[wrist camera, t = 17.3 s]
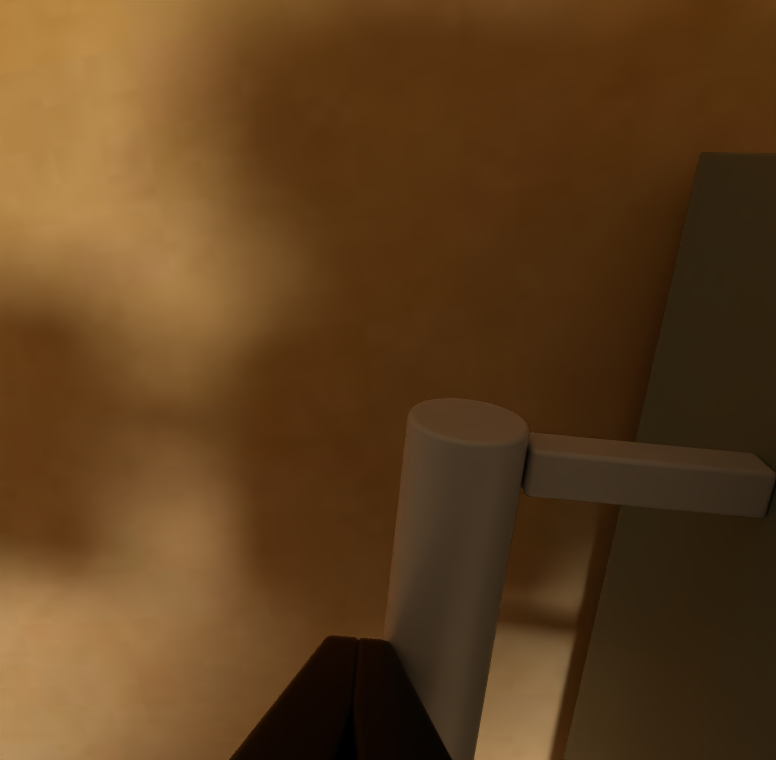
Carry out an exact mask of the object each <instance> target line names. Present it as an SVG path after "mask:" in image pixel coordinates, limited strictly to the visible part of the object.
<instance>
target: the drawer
mask: <svg viewBox="0 0 776 760" xmlns="http://www.w3.org/2000/svg"><path fill="white" fill-rule="evenodd" d="M521 486H522V488H523V491H524V494H525V495H527V496H531V497H542V498H552V499H563V500H573V501H584V502H595V503H605V504H616V505H621V506H620V511H619V515H618V520H617V524H616V528H615V533H614V537H613V542H612V546H611V551H610V555H609V560H608V564H607V568H606V573H605V577H604V582H603V586H602V591H601V595H600V599H599V604H598V608H597V613H596V617H595V622H594V626H593V630H592V635H591V639H590V644H589V648H588V653H587V657H586V661H585V666H584V670H583V675H582V679H581V684H580V688H579V692H578V697H577V701H576V706H575V710H574V715H573V719H572V723H571V728H570V732H569V737H568V741H567V746H566V750H565V754H564V759H563V760H776V153H730V152H702V153H701V154H700V156H699V161H698V165H697V170H696V174H695V178H694V183H693V187H692V192H691V196H690V201H689V205H688V209H687V214H686V218H685V223H684V227H683V232H682V236H681V240H680V245H679V249H678V254H677V258H676V263H675V267H674V271H673V276H672V280H671V285H670V289H669V294H668V298H667V303H666V307H665V311H664V316H663V320H662V325H661V329H660V334H659V338H658V342H657V347H656V351H655V356H654V360H653V365H652V369H651V373H650V378H649V382H648V387H647V391H646V396H645V400H644V404H643V409H642V413H641V418H640V422H639V427H638V431H637V435H636V440H635V442H627V441H617V440H606V439H596V438H585V437H575V436H564V435H554V434H543V433H532V432H530V430H529V427H528V424H527V422H526V421H525V420H524V419H523V418H522V417H521V416H519V415H518V414H516V413H514V412H512V411H510V410H508V409H506V408H503V407H500V406H498V405H495V404H491V403H487V402H483V401H478V400H472V399H464V398H439V399H431V400H426V401H423V402H420V403H418V404H416V405H414V406H413V407H412V408H411V410H410V411H409V413H408V417H407V426H406V435H405V444H404V454H403V463H402V472H401V481H400V490H399V499H398V508H397V517H396V526H395V536H394V545H393V554H392V563H391V572H390V581H389V590H388V599H387V608H386V618H385V627H384V636H383V640H386V641H388V642H390V644H391V645H392V647H393V649H394V651H395V652H396V654H397V656H398V658H399V660H400V662H401V664H402V666H403V668H404V669H405V671H406V673H407V675H408V677H409V679H410V681H411V683H412V685H413V686H414V688H415V690H416V692H417V694H418V696H419V698H420V700H421V701H422V703H423V705H424V707H425V709H426V711H427V713H428V715H429V717H430V718H431V720H432V722H433V724H434V726H435V728H436V730H437V732H438V734H439V735H440V737H441V739H442V741H443V743H444V745H445V747H446V749H447V751H448V752H449V754H450V756H451V758H452V760H474V755H475V750H476V744H477V738H478V732H479V726H480V720H481V715H482V709H483V703H484V697H485V691H486V686H487V680H488V674H489V668H490V662H491V656H492V651H493V645H494V639H495V633H496V627H497V622H498V616H499V610H500V604H501V598H502V593H503V587H504V581H505V575H506V569H507V563H508V558H509V552H510V546H511V540H512V534H513V529H514V523H515V517H516V511H517V505H518V499H519V494H520V488H521Z"/></svg>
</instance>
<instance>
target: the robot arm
mask: <svg viewBox="0 0 776 760" xmlns="http://www.w3.org/2000/svg"><path fill="white" fill-rule="evenodd" d="M229 760H452V758H451V756H450V754H449V752H448V751H447V749H446V747H445V745H444V743H443V741H442V739H441V737H440V735H439V734H438V732H437V730H436V728H435V726H434V724H433V722H432V720H431V718H430V717H429V715H428V713H427V711H426V709H425V707H424V705H423V703H422V701H421V700H420V698H419V696H418V694H417V692H416V690H415V688H414V686H413V685H412V683H411V681H410V679H409V677H408V675H407V673H406V671H405V669H404V668H403V666H402V664H401V662H400V660H399V658H398V656H397V654H396V652H395V651H394V649H393V647H392V645H391V644H390V642H388V641H386V640H379V639H368V638H361V639H359V640H358V639H357V638H355V637H345V636H333V635H331V636H328V637H326V638H325V639H324V640H323V642H322V643H321V644H320V645H319V647H318V648H317V649H316V651H315V652H314V653H313V654H312V656H311V657H310V658H309V659H308V661H307V662H306V663H305V664H304V666H303V667H302V668H301V669H300V671H299V672H298V673H297V674H296V676H295V677H294V678H293V680H292V681H291V682H290V683H289V685H288V686H287V687H286V688H285V690H284V691H283V692H282V693H281V695H280V696H279V697H278V698H277V700H276V701H275V702H274V704H273V705H272V706H271V707H270V709H269V710H268V711H267V712H266V714H265V715H264V716H263V717H262V719H261V720H260V721H259V722H258V724H257V725H256V726H255V727H254V729H253V730H252V731H251V733H250V734H249V735H248V736H247V738H246V739H245V740H244V741H243V743H242V744H241V745H240V746H239V748H238V749H237V750H236V751H235V753H234V754H233V755H232V757H231V758H230V759H229Z"/></svg>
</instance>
